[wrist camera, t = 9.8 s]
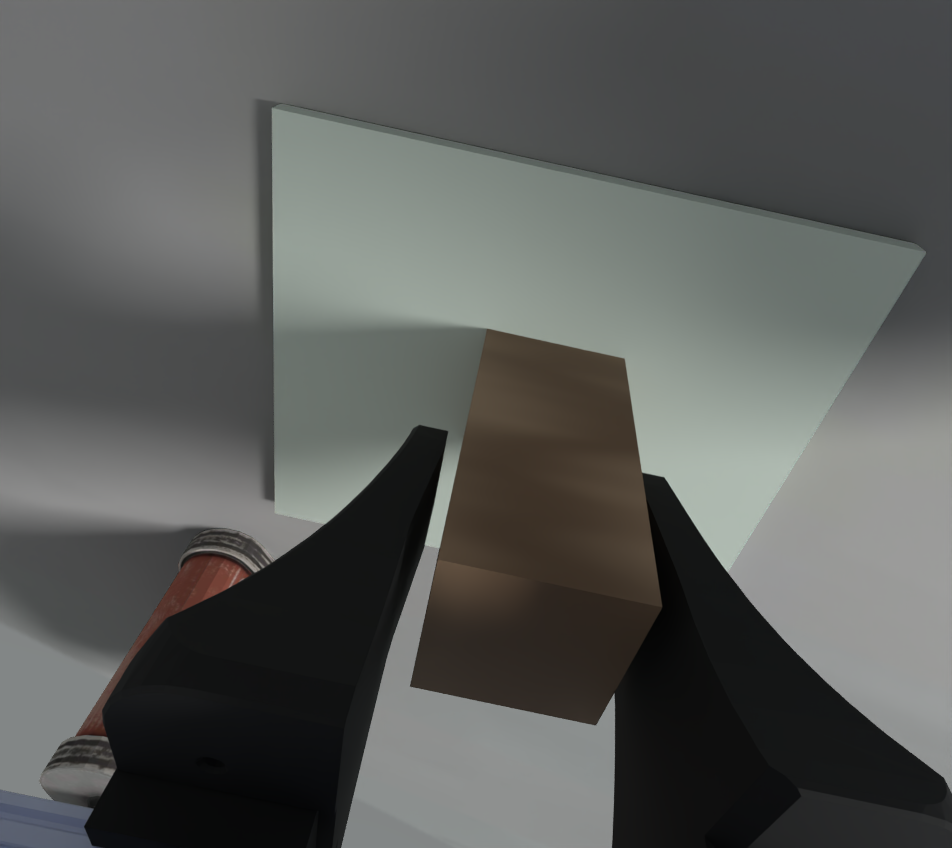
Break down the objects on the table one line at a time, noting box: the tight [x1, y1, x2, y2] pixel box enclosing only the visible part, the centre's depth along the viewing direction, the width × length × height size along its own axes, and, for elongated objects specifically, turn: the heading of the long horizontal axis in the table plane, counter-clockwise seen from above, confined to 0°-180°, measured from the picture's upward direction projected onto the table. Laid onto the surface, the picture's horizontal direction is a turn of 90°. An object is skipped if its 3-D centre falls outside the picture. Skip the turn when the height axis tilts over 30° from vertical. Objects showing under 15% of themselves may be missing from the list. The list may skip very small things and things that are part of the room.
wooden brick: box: [410, 329, 662, 725], centre depth 13 cm, size 3×3×7 cm
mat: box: [272, 104, 927, 573], centre depth 16 cm, size 13×11×1 cm
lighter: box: [39, 529, 275, 809], centre depth 18 cm, size 8×3×10 cm, turn 14°
